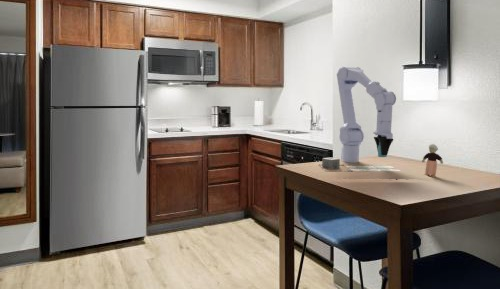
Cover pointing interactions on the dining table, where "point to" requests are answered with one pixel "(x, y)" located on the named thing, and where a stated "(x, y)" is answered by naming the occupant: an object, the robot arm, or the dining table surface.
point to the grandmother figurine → (432, 161)
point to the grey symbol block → (330, 163)
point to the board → (367, 168)
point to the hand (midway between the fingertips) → (382, 154)
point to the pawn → (380, 152)
